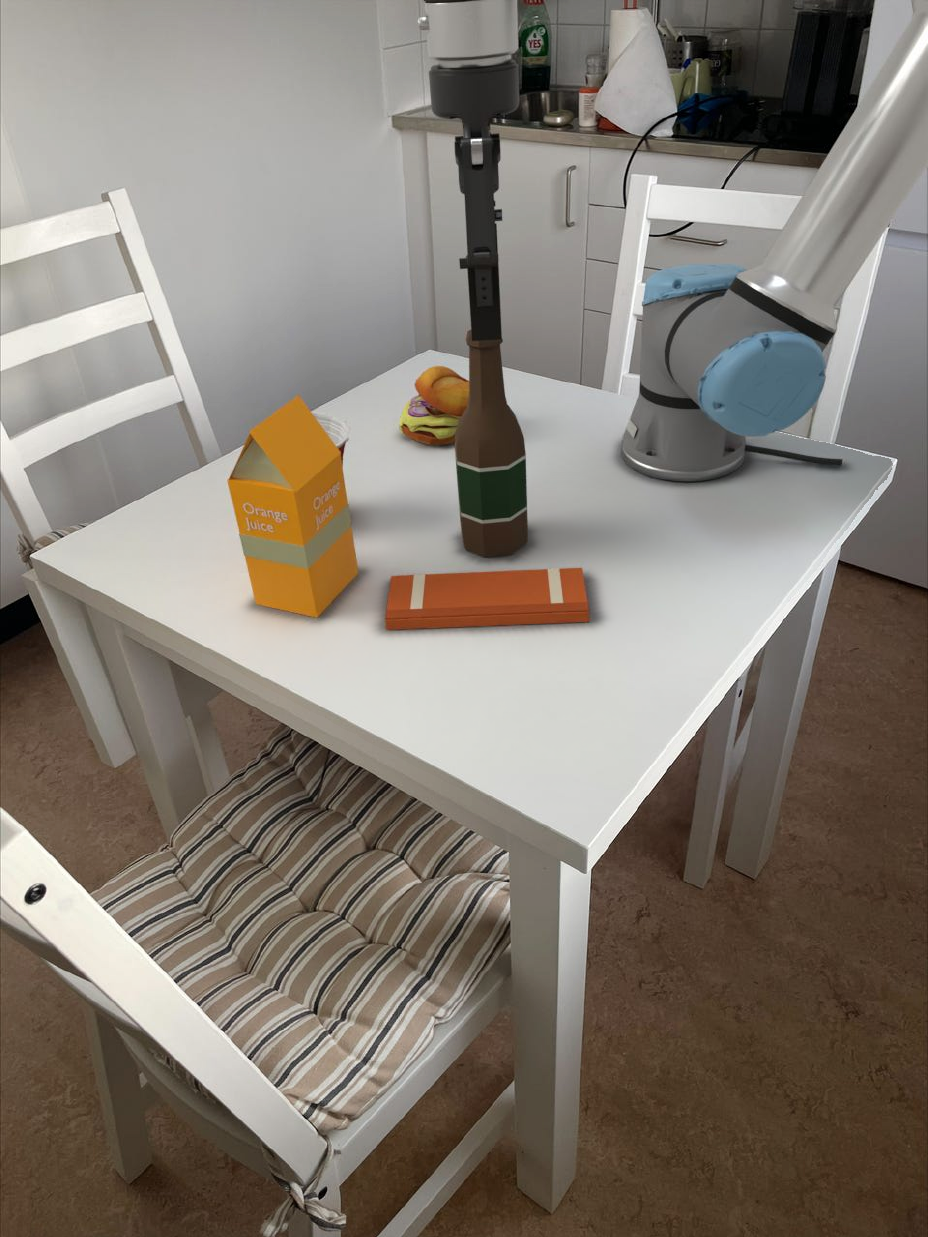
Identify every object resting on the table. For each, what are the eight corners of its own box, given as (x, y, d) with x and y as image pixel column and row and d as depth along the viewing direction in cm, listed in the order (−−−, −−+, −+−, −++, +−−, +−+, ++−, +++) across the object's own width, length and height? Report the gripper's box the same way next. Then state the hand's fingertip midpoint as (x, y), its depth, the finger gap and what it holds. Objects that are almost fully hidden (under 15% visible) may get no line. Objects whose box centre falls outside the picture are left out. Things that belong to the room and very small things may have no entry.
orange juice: (254, 604, 99) (213, 426, 87) (299, 560, 105) (266, 390, 94) (318, 618, 96) (285, 437, 84) (360, 573, 102) (334, 398, 91)
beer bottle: (480, 567, 102) (466, 350, 88) (448, 535, 108) (430, 327, 94) (542, 546, 105) (538, 332, 91) (507, 516, 110) (499, 311, 96)
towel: (581, 576, 99) (582, 565, 98) (588, 622, 93) (589, 610, 92) (392, 584, 100) (391, 573, 99) (386, 630, 94) (384, 618, 93)
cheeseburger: (404, 416, 135) (415, 349, 129) (477, 433, 135) (491, 367, 129) (390, 446, 127) (401, 377, 121) (468, 465, 127) (483, 396, 121)
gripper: (434, 47, 89) (451, 277, 102) (420, 83, 69) (443, 364, 81) (514, 41, 89) (521, 273, 101) (523, 75, 69) (530, 359, 81)
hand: (486, 314), depth 91 cm, fingers open, 13 cm apart
